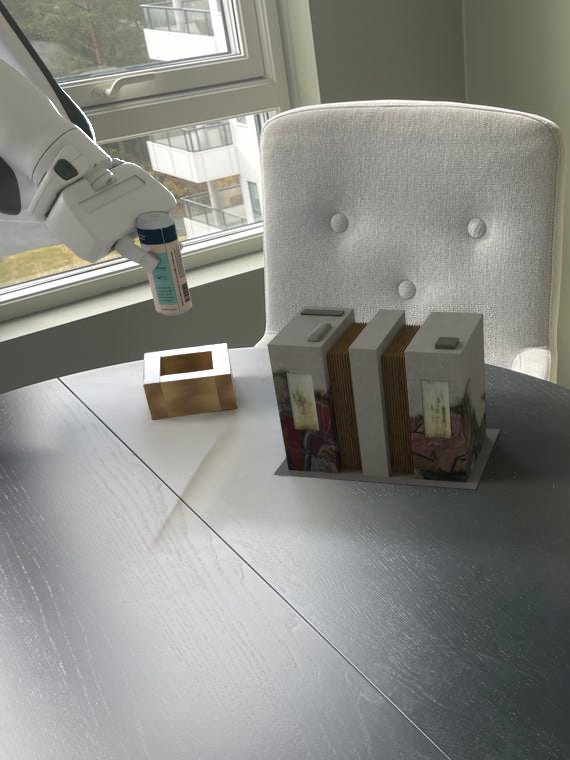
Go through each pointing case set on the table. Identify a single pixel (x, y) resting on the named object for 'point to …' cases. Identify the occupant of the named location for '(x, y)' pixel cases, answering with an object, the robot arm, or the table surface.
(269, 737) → the table surface
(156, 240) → the supplement bottle
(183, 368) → the holder
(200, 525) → the table surface
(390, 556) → the table surface
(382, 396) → the bookend
